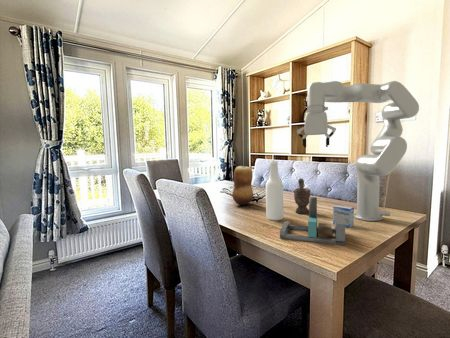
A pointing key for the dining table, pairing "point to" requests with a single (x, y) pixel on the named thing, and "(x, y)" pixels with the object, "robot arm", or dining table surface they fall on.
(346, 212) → the medicine box
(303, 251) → the dining table surface
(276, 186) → the alcohol
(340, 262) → the dining table surface
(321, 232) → the walnut block
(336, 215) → the vise bed
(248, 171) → the butternut squash
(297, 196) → the brown bust statue
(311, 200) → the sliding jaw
